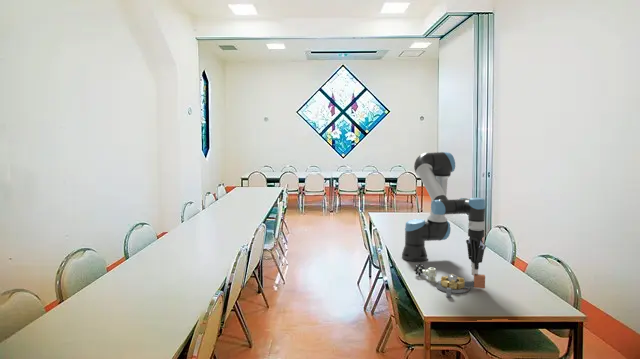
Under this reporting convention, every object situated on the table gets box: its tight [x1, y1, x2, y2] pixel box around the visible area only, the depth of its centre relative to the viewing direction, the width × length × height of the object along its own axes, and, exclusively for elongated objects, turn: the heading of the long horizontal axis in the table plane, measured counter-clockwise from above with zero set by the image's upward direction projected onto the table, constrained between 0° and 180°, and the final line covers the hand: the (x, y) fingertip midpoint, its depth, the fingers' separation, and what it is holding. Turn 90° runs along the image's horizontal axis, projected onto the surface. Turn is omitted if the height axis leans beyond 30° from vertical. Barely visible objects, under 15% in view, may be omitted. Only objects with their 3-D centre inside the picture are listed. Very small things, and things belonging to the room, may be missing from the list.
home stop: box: [445, 288, 452, 299], centre depth 200 cm, size 2×2×4 cm
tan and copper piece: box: [440, 273, 486, 289], centre depth 210 cm, size 21×11×6 cm, turn 76°
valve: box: [413, 263, 437, 283], centre depth 224 cm, size 7×7×12 cm
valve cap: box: [435, 273, 470, 295], centre depth 211 cm, size 16×16×6 cm
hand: (474, 274), depth 214 cm, fingers closed
